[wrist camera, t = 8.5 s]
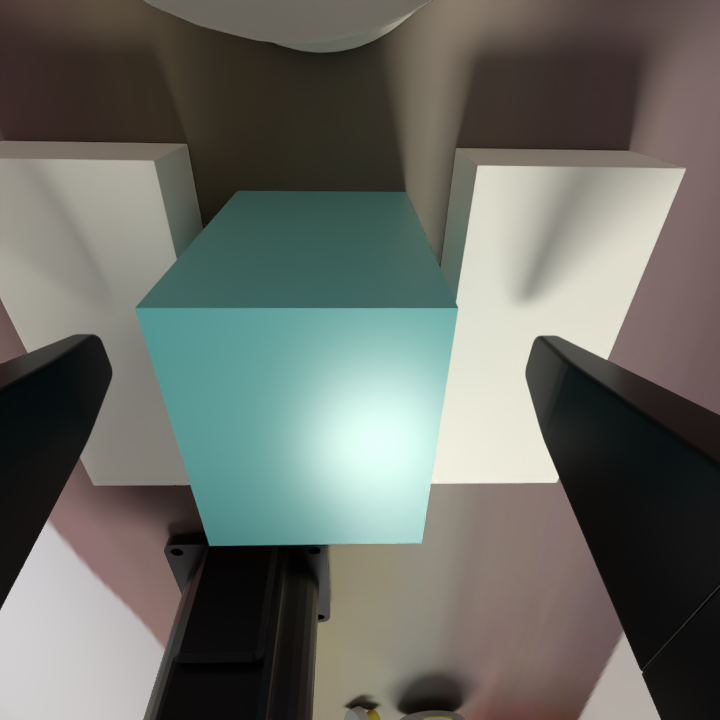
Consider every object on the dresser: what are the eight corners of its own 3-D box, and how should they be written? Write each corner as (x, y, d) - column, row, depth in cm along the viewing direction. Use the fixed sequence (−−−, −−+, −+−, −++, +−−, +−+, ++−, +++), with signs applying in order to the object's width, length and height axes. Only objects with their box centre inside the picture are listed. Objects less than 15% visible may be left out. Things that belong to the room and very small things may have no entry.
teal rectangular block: (394, 363, 13) (421, 543, 8) (261, 363, 13) (209, 545, 8) (405, 191, 10) (458, 308, 5) (238, 190, 10) (135, 307, 5)
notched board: (533, 436, 15) (556, 482, 13) (122, 437, 15) (93, 485, 13) (629, 150, 10) (686, 168, 8) (2, 140, 10) (-71, 157, 8)
